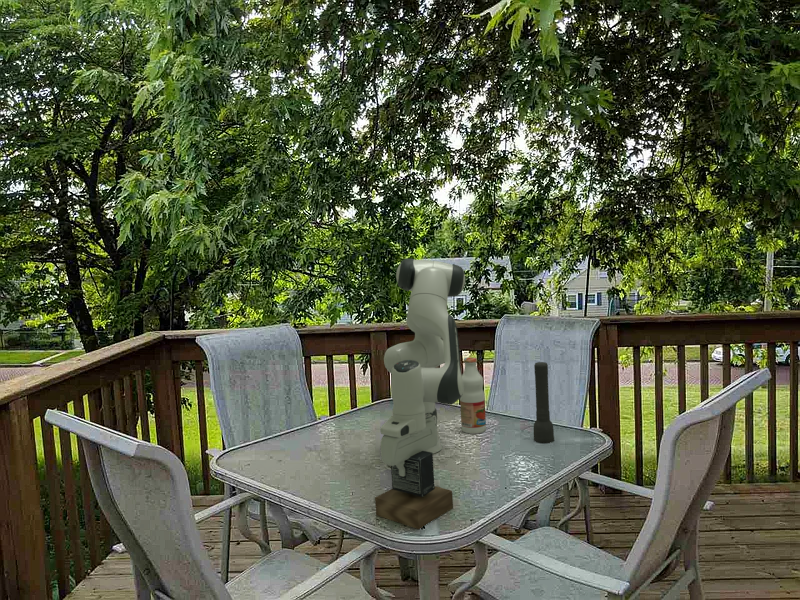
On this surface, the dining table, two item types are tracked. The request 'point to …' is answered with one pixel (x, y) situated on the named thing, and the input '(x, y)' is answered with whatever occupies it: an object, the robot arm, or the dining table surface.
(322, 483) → the dining table surface
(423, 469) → the small box
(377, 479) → the dining table surface
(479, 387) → the fruit juice
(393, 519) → the stand
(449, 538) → the dining table surface
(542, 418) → the flashlight
